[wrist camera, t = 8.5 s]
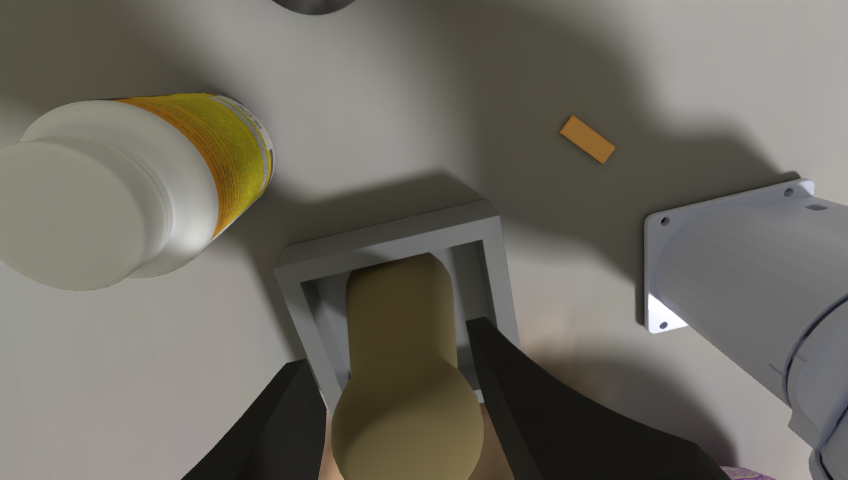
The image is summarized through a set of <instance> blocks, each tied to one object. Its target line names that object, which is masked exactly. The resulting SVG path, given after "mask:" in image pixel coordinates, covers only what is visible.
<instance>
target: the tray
mask: <svg viewBox="0 0 848 480" xmlns="http://www.w3.org/2000/svg"><path fill="white" fill-rule="evenodd" d="M427 252H430V253H431V254H432V255H434V256H435V257H436V258H437V259H439V260H440V261H441V262H442V263H443V264H444V266H445V268H446V269H447V271H448V272H449V274H450V276H451V281H452V286H453V293H454V311H455V330H456V348H457V367H458V370H460V372H461V373H462V375H463V376H464V378H465V379H466V381H467V382H468V383H469V385H470V386H471V388H472V389H473V391H474V392H475V394H476V395H477V398H478V402H479V403H484V399H483V396H482V392H481V389H480V385H479V381H478V378H477V374H476V370H475V365H474V360H473V356H472V351H471V346H470V341H469V337H468V332H467V327H466V322H465V321H467V320H471V319H476V318H480V317H484V316H485V317H487V318H488V319H490V321H491V322H492V323H493V324H494V325H495V326H496V328H497V329H498V330H499V331H500V332H501V333H502V334H503V335H504V336H505V337H506V338H507V339H508V340H509V341H510V342H511V343H513V344H514V345H515V346H516V347H517V348H518V349H519V350H520V344H519V338H518V331H517V325H516V318H515V311H514V305H513V298H512V292H511V285H510V279H509V272H508V266H507V259H506V252H505V246H504V239H503V233H502V226H501V220H500V215H499V214H498V212H497V211H496V210H495V209H494V208H493V206H492V205H491V204H490V203H489V202H488V200H487V199H483V200H479V201H475V202H470V203H466V204H462V205H458V206H453V207H449V208H445V209H441V210H436V211H432V212H428V213H424V214H420V215H415V216H411V217H407V218H403V219H398V220H394V221H390V222H386V223H381V224H377V225H373V226H369V227H364V228H360V229H356V230H352V231H348V232H343V233H339V234H335V235H331V236H326V237H322V238H318V239H314V240H309V241H305V242H301V243H297V244H293V245H288V246H285V248H284V250H283V251H282V253H281V254H280V256H279V258H278V259H277V261H276V263H275V264H274V266H273V268H272V271H273V274H274V276H275V278H276V281H277V283H278V286H279V288H280V291H281V293H282V296H283V298H284V300H285V303H286V305H287V308H288V310H289V313H290V315H291V318H292V320H293V322H294V325H295V327H296V330H297V332H298V335H299V337H300V339H301V342H302V344H303V347H304V349H305V352H306V354H307V357H308V359H309V361H310V364H311V366H312V369H313V371H314V374H315V376H316V379H317V381H318V383H319V386H320V388H321V391H322V393H323V396H324V398H325V400H326V403H327V405H328V408H329V410H330V413H331V415H332V418H333V414H334V409H335V407H336V405H337V403H338V401H339V398H340V396H341V394H342V392H343V390H344V388H345V386H346V384H347V382H348V381H349V380H350V379H351V372H350V358H349V344H348V330H347V316H346V302H345V295H346V283H347V281H348V278H349V276H350V273H351V271H352V270H355V269H359V268H363V267H367V266H372V265H376V264H380V263H384V262H389V261H393V260H397V259H401V258H405V257H410V256H414V255H418V254H422V253H427Z"/></svg>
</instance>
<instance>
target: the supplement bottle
mask: <svg viewBox="0 0 848 480" xmlns="http://www.w3.org/2000/svg"><path fill="white" fill-rule="evenodd" d="M274 163H275V157H274V150H273V146H272V142H271V140H270V137H269V135H268V133H267V131H266V130H265V128H264V126H263V125H262V124H261V122H260V121H259V120H258V119H257V117H256V116H255V115H254V114H253V113H252V112H250V111H249V110H248V109H247V108H245V107H244V106H243V105H241V104H239V103H238V102H236V101H234V100H232V99H230V98H227V97H224V96H221V95H218V94H213V93H205V92H195V93H179V94H166V95H153V96H142V97H128V98H112V99H98V100H86V101H81V102H75V103H69V104H66V105H63V106H60V107H57V108H55V109H53V110H51V111H49V112H47V113H45V114H44V115H42V116H41V117H39V118H38V119H37V120H36V121H35V122H34V123H32V124H31V125H30V127H29V128H28V129H27V130H26V131H25V133H24V134H23V136H22V138H21V139H20V141H19V143H16V144H12V145H9V146H6V147H3V148H1V149H0V259H1V260H2V261H3V262H4V263H6V264H7V265H8V266H10V267H11V268H12V269H14V270H15V271H17V272H18V273H20V274H22V275H24V276H25V277H27V278H29V279H32V280H34V281H36V282H38V283H41V284H44V285H47V286H50V287H54V288H59V289H64V290H73V291H88V290H96V289H101V288H105V287H109V286H111V285H114V284H116V283H118V282H120V281H122V280H123V279H125V278H147V277H155V276H159V275H163V274H167V273H169V272H172V271H174V270H177V269H179V268H181V267H182V266H184V265H186V264H187V263H189V262H190V261H192V260H193V259H194V258H195V257H196V256H197V255H199V254H200V253H201V252H202V251H203V250H204V249H205V248H206V247H207V246H208V245H209V244H210V243H211V242H212V241H214V240H215V239H216V238H217V237H218V236H219V235H220V234H221V233H222V232H223V231H224V230H225V229H227V228H228V227H229V226H230V225H231V224H232V223H233V222H234V221H235V220H236V219H237V218H238V217H240V216H241V215H242V214H243V213H244V212H245V211H246V210H247V209H248V208H249V207H250V206H251V205H252V204H253V203H254V202H256V201H257V200H258V199H259V198H260V197H261V195H262V194H263V193H264V192H265V190H266V189H267V187H268V186H269V184H270V182H271V179H272V176H273V172H274Z"/></svg>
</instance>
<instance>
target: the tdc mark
mask: <svg viewBox="0 0 848 480" xmlns="http://www.w3.org/2000/svg"><path fill="white" fill-rule="evenodd" d="M559 133H561V134H562V135H563V136H565V137H566V138H568V139H569V140H570V141H572V142H573V143H574V144H576V145H577V146H578V147H580V148H581V149H583V150H584V151H585V152H587V153H588V154H589V155H591V156H592V157H594V158H595V159H596V160H598V161H599V162H600V163H602V164H604V163H605V161H606V160H607V159H608V157H609V156H610V155H611V154H612V152H613V151H614V150H615V148H616V147H615V146H613V145H612V144H611V143H609V142H608V141H607V140H605V139H604V138H603V137H601V136H600V135H599V134H597V133H596V132H595V131H593V130H592V129H591V128H589V127H588V126H587V125H585V124H584V123H583V122H581V121H580V120H579V119H578V118H576V117H575V116H574V115H571V117H570V118H569V119H568V121H567V122H566V124H565V125H564V126H563V128H562V129H561V130H560V132H559Z"/></svg>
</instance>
